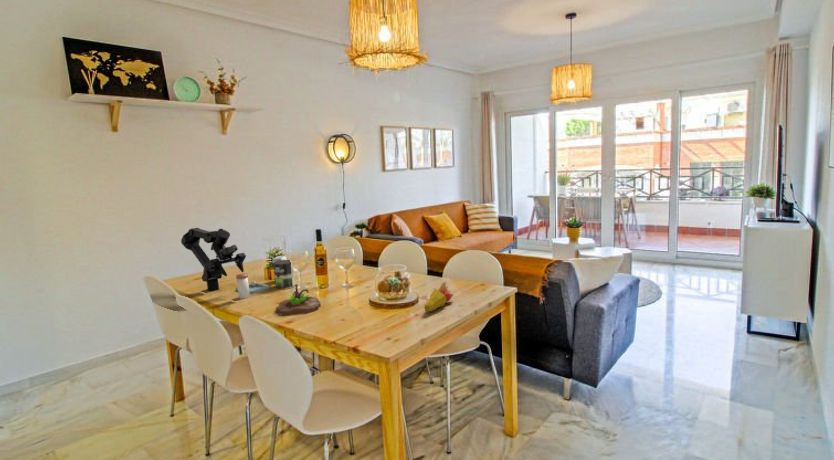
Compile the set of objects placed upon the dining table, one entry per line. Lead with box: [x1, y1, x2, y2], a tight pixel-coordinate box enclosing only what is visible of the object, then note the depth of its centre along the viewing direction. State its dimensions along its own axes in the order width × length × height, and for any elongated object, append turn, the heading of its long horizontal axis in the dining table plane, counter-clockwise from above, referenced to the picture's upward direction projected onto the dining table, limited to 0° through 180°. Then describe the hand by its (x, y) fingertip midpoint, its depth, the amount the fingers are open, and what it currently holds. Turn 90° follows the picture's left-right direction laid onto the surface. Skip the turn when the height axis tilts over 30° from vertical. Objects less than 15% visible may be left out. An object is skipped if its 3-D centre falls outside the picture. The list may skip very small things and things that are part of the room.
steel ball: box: [250, 280, 258, 287], centre depth 253 cm, size 3×3×3 cm
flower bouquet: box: [423, 279, 454, 312], centre depth 206 cm, size 8×8×25 cm
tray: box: [235, 282, 272, 295], centre depth 248 cm, size 14×12×2 cm
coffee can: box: [272, 259, 296, 291], centre depth 251 cm, size 10×10×14 cm
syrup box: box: [272, 255, 288, 268], centre depth 262 cm, size 6×6×14 cm
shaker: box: [235, 272, 251, 300], centre depth 233 cm, size 5×5×12 cm
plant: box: [275, 283, 322, 316], centre depth 215 cm, size 20×20×11 cm
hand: (235, 273), depth 236 cm, fingers open, 9 cm apart
